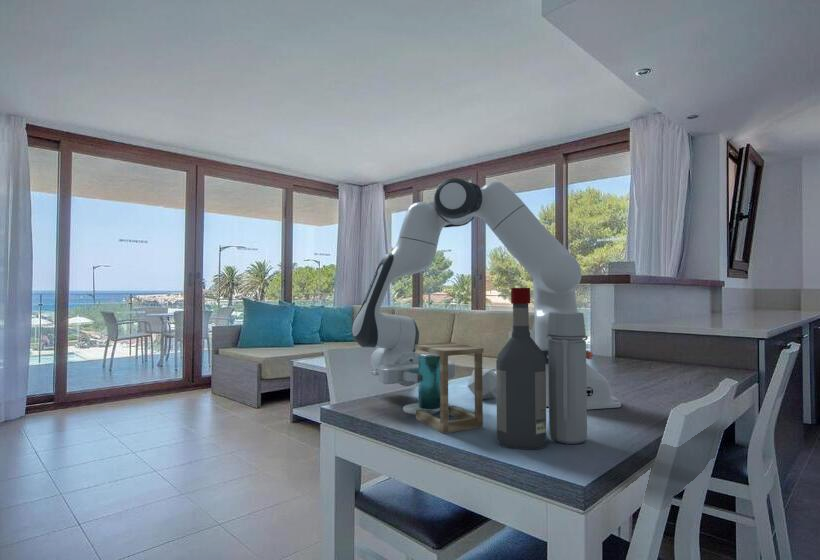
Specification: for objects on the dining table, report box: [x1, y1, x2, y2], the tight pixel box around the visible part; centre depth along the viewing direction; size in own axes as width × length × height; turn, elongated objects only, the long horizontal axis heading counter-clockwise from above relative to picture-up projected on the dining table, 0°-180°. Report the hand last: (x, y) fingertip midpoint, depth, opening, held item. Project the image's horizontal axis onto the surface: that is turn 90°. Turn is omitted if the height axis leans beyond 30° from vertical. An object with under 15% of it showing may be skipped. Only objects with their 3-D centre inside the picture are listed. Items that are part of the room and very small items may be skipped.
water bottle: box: [546, 311, 589, 445], centre depth 92 cm, size 9×8×25 cm
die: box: [467, 368, 497, 400], centre depth 129 cm, size 8×9×10 cm
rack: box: [414, 341, 484, 434], centre depth 105 cm, size 13×10×17 cm
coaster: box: [402, 402, 440, 416], centre depth 116 cm, size 9×9×1 cm
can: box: [417, 352, 440, 409], centre depth 112 cm, size 6×6×12 cm
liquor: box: [495, 287, 547, 451], centre depth 92 cm, size 9×9×30 cm
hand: (432, 377), depth 111 cm, fingers closed on can, 6 cm apart
